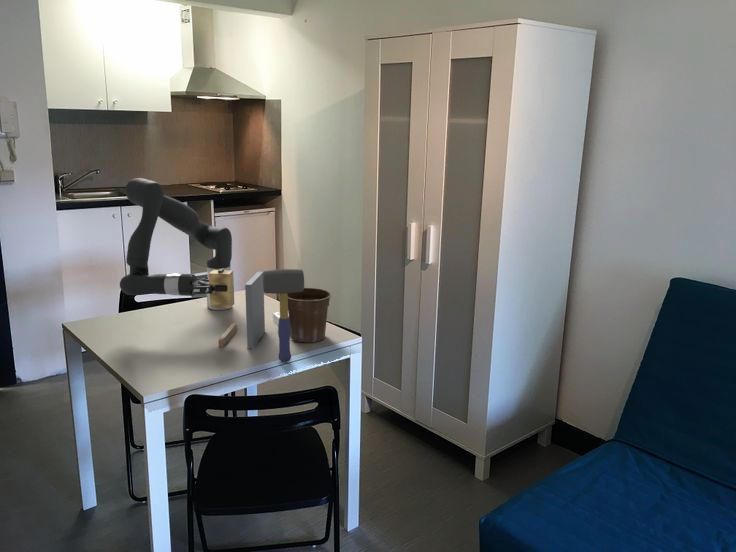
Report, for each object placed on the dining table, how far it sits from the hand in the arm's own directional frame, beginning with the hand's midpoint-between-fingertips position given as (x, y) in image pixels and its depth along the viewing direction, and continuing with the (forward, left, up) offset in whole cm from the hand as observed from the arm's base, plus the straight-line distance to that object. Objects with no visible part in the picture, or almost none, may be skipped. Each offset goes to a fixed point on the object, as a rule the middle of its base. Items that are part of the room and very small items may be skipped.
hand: (229, 286), depth 206 cm
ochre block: (-2, -1, -7) cm, 7 cm away
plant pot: (+22, +16, -19) cm, 33 cm away
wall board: (+4, +2, -19) cm, 19 cm away
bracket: (+6, +23, -19) cm, 31 cm away
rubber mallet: (+30, -6, -19) cm, 36 cm away
